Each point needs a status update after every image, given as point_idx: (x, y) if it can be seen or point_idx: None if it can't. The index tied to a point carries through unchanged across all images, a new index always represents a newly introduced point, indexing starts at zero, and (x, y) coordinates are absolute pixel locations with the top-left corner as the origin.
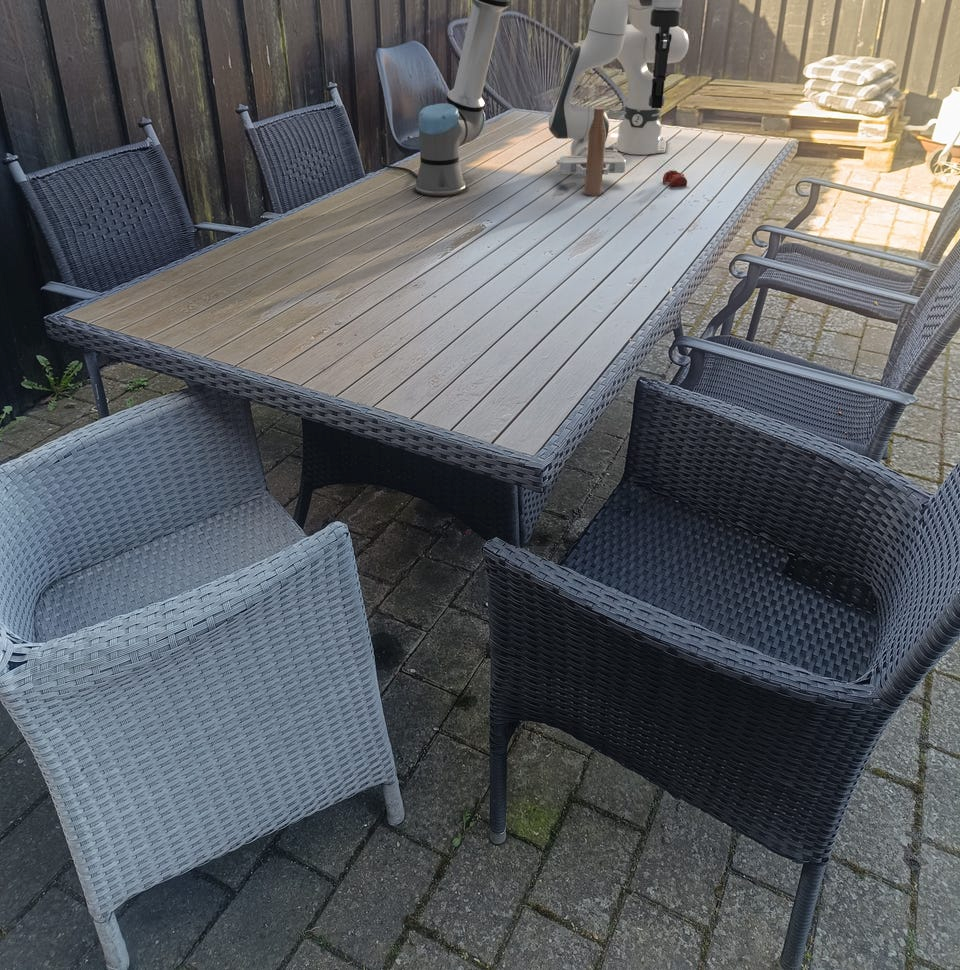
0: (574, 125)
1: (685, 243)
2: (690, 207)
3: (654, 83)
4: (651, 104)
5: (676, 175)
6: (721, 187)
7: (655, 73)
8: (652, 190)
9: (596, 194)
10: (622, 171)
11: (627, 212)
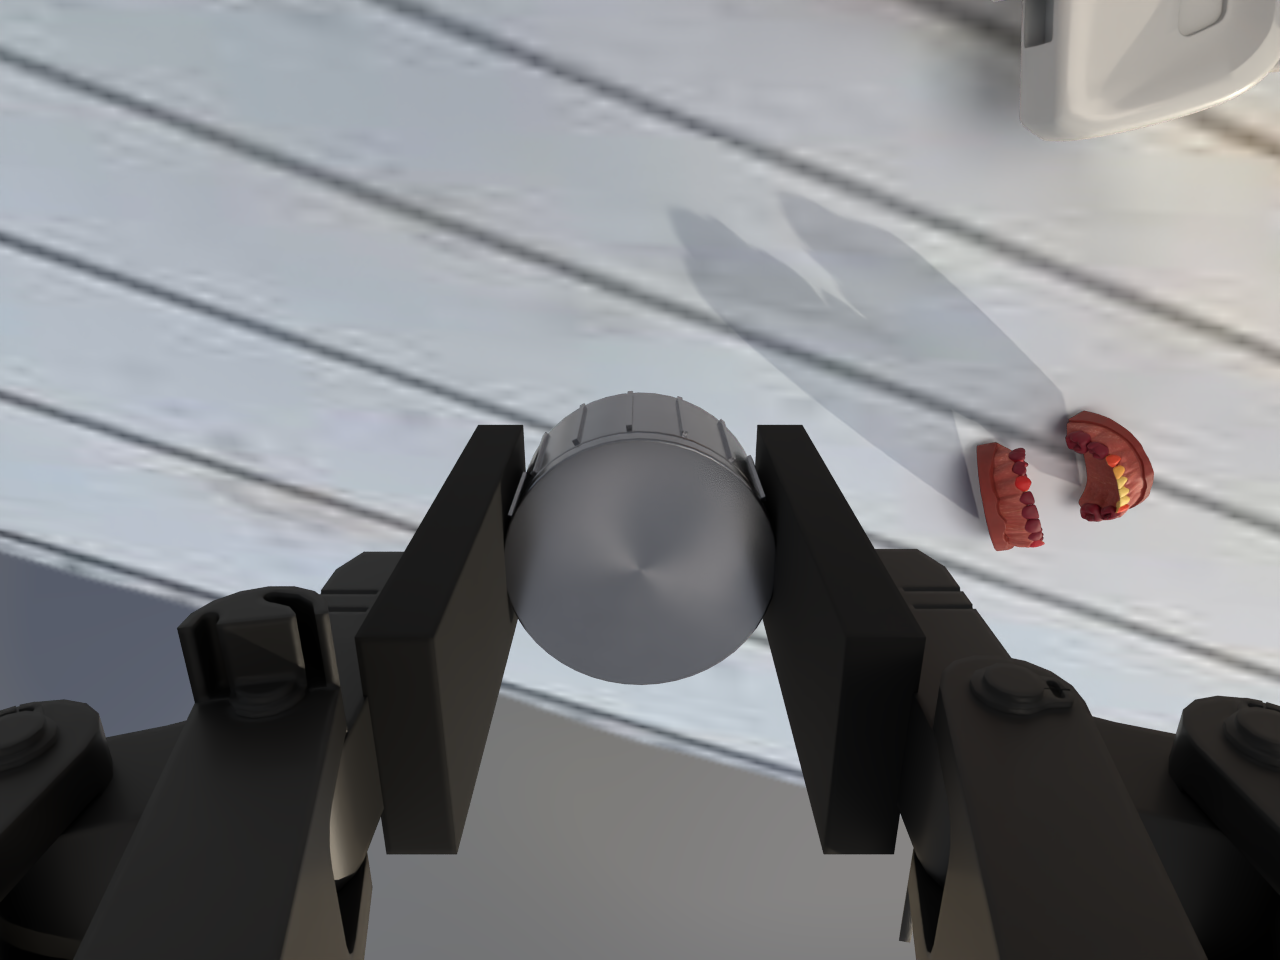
0: None
1: (28, 452)
2: None
3: (365, 628)
4: (547, 438)
5: (1014, 501)
6: None
7: (943, 770)
8: (938, 339)
9: None
10: (1022, 121)
11: (473, 155)
